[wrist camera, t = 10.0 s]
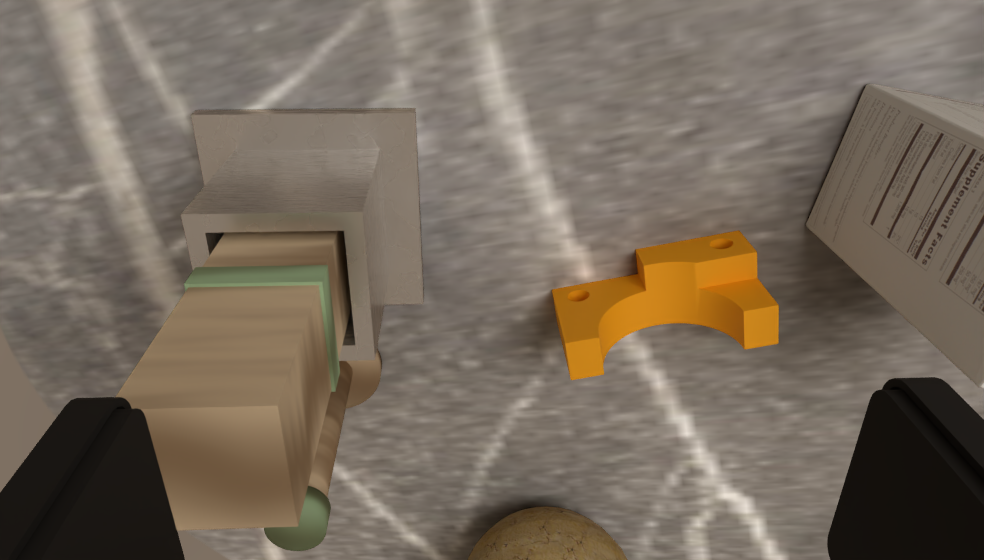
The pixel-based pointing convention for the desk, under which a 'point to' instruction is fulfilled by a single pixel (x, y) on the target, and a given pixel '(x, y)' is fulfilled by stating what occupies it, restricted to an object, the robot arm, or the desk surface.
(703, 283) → the pipe clamp
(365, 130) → the sleeve
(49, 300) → the desk surface
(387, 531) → the desk surface
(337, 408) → the marker post
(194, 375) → the column
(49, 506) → the robot arm
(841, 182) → the supplement box
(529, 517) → the fossilized egg
